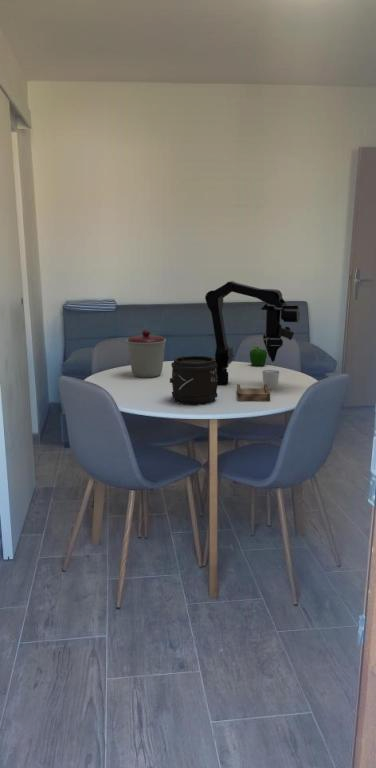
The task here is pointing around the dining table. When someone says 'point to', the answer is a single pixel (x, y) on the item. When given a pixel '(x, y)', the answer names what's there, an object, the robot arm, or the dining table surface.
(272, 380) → the shot glass
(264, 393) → the tray
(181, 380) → the black ribbed pot
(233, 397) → the dining table surface
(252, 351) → the bell pepper
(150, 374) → the canister
